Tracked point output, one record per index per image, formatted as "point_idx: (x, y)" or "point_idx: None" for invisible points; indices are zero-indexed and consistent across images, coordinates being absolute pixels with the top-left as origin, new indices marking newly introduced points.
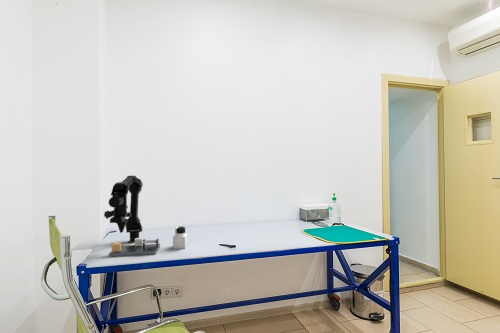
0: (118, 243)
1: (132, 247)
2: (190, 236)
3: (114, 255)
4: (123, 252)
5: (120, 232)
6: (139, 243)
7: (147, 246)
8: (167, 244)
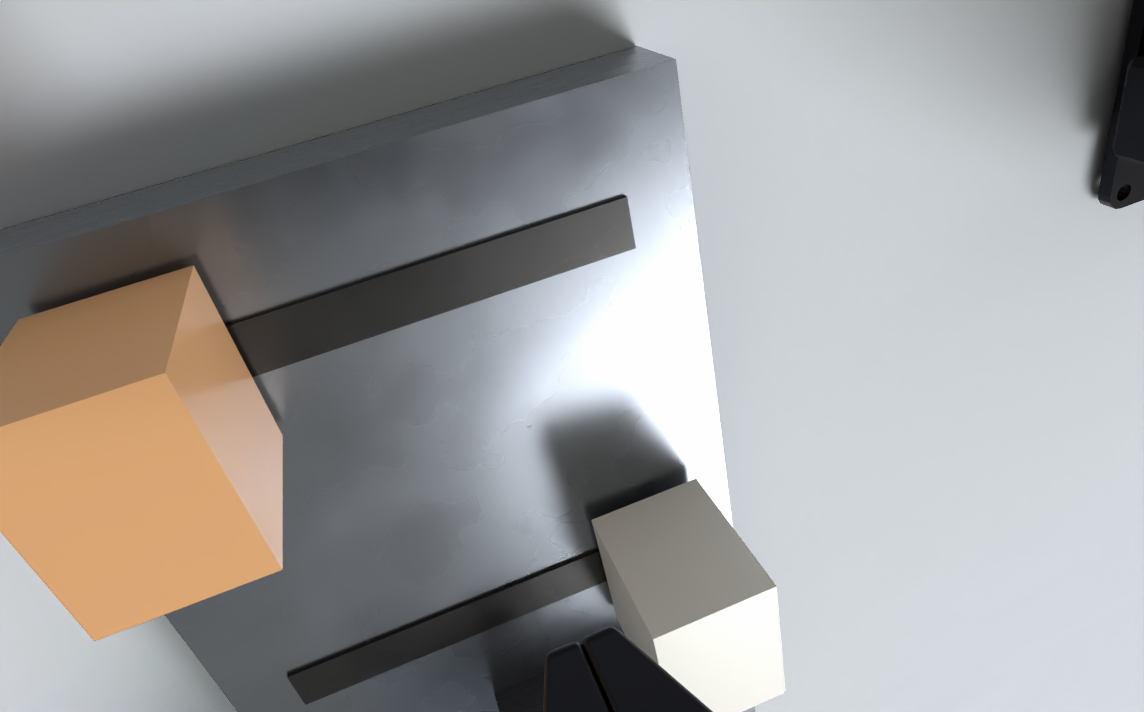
0: (155, 562)
1: (543, 500)
2: (1130, 696)
3: None
4: None
5: (549, 664)
6: (630, 628)
7: None
8: (849, 688)
